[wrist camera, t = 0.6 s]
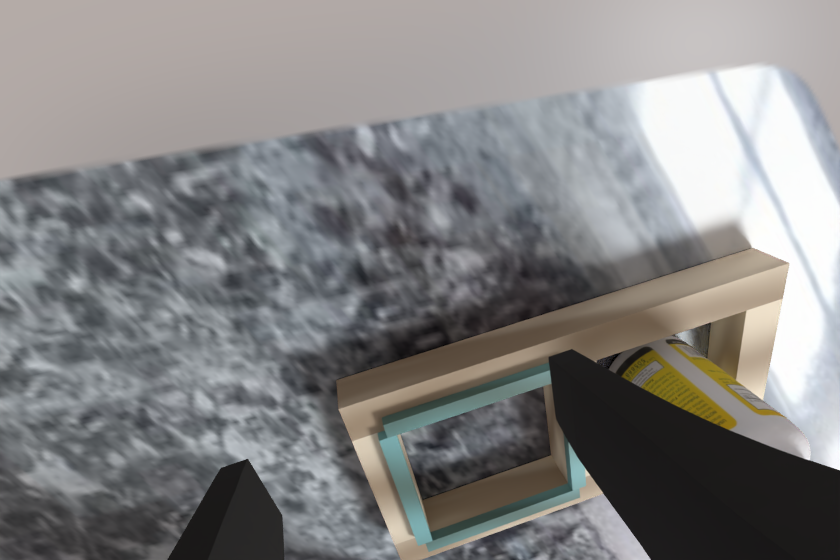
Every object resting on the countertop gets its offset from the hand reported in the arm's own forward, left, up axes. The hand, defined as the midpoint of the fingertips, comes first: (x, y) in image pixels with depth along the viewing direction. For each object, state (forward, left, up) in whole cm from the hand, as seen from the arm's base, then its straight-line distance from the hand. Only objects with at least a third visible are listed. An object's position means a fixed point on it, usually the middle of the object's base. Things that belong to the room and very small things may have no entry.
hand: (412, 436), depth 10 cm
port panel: (-11, -8, -10) cm, 17 cm away
